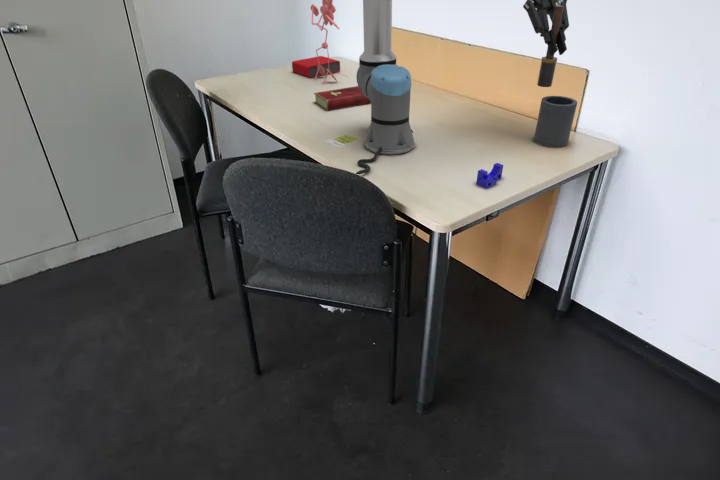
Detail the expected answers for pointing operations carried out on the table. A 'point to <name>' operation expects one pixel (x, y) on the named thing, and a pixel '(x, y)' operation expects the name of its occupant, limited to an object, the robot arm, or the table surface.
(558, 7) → the brush
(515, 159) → the table surface
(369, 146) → the robot arm
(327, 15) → the figurine
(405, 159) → the table surface
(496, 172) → the cable holder
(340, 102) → the hardcover book
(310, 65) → the audio interface
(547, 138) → the grey cylindrical holder
